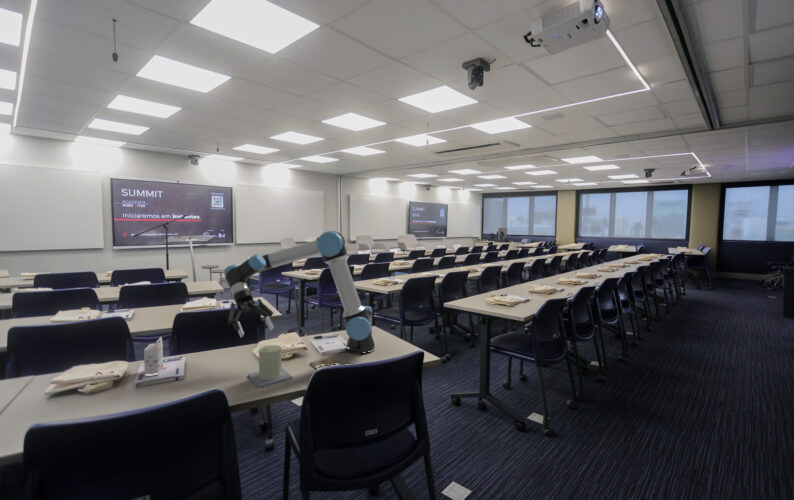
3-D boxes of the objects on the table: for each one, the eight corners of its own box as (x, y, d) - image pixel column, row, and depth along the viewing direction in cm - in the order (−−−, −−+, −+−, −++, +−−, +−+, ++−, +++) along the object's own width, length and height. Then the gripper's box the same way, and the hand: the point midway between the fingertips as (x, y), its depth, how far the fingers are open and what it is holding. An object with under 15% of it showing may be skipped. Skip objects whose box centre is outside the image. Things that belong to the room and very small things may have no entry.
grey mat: (280, 368, 156) (280, 366, 156) (292, 378, 145) (292, 377, 145) (247, 376, 147) (247, 374, 147) (258, 387, 136) (258, 385, 136)
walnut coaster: (330, 359, 168) (330, 358, 168) (342, 366, 159) (342, 365, 159) (309, 364, 161) (309, 363, 161) (320, 372, 153) (320, 370, 152)
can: (253, 377, 144) (253, 348, 144) (271, 369, 152) (271, 342, 152) (269, 381, 140) (269, 352, 139) (286, 373, 148) (286, 346, 148)
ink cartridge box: (150, 369, 151) (149, 336, 151) (163, 368, 153) (162, 335, 152) (144, 377, 144) (143, 342, 143) (158, 376, 145) (157, 341, 145)
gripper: (264, 295, 172) (280, 331, 163) (211, 302, 153) (226, 343, 144) (269, 286, 169) (286, 322, 160) (216, 292, 150) (231, 333, 141)
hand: (257, 332), depth 152 cm, fingers open, 13 cm apart
